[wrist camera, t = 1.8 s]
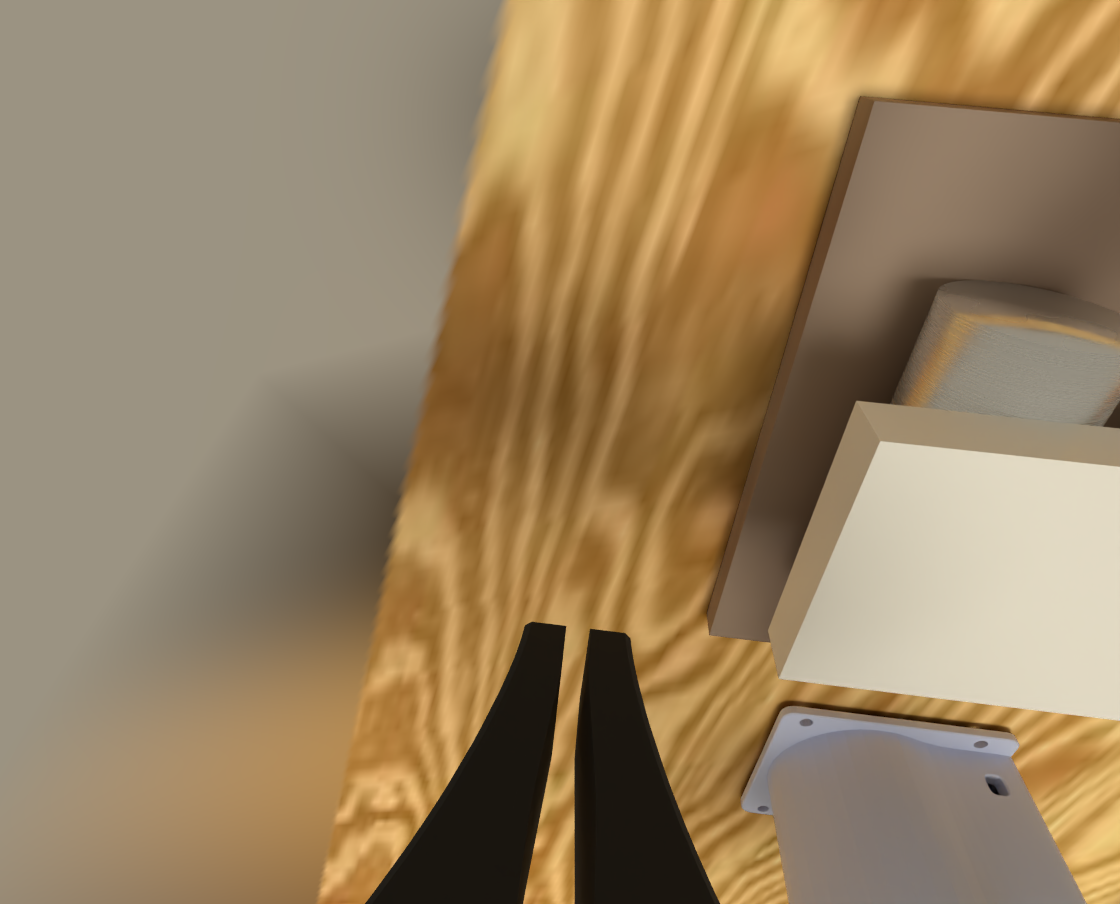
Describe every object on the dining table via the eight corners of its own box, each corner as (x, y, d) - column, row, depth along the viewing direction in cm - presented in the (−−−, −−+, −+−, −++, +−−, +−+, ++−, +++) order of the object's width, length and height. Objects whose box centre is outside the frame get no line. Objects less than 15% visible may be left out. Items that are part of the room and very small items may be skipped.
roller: (1077, 288, 15) (1209, 363, 12) (914, 584, 21) (973, 691, 17) (908, 273, 15) (992, 344, 12) (792, 573, 21) (827, 677, 17)
